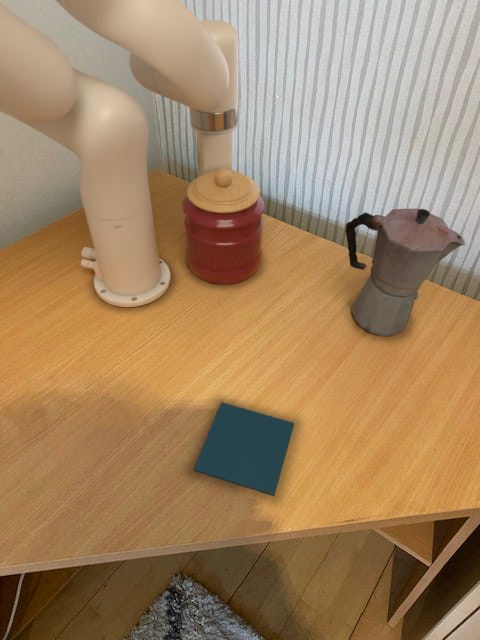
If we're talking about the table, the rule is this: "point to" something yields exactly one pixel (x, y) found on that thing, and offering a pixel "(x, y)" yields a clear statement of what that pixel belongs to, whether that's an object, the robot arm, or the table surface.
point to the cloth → (245, 448)
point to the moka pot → (397, 265)
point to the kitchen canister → (223, 226)
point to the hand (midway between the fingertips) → (217, 213)
